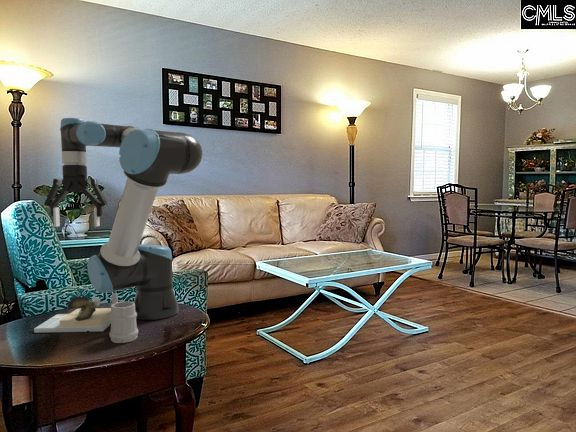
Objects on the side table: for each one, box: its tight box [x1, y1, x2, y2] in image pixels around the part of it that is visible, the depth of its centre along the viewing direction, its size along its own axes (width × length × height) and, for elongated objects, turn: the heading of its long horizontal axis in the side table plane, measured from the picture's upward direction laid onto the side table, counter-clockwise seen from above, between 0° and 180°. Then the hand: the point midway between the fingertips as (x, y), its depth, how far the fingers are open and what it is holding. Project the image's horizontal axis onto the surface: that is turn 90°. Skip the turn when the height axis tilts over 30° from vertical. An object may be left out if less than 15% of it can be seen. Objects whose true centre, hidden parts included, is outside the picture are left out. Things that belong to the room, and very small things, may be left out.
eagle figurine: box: [66, 296, 101, 321], centre depth 134 cm, size 8×7×9 cm
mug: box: [108, 292, 139, 344], centre depth 125 cm, size 8×12×12 cm, turn 44°
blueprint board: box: [33, 307, 111, 334], centre depth 136 cm, size 20×14×3 cm
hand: (77, 226), depth 151 cm, fingers open, 13 cm apart
